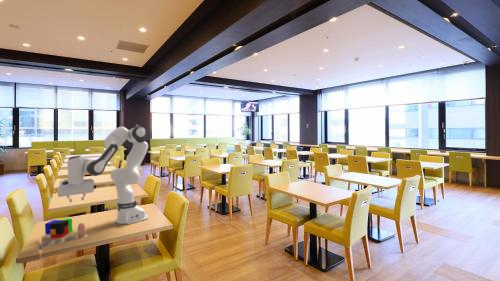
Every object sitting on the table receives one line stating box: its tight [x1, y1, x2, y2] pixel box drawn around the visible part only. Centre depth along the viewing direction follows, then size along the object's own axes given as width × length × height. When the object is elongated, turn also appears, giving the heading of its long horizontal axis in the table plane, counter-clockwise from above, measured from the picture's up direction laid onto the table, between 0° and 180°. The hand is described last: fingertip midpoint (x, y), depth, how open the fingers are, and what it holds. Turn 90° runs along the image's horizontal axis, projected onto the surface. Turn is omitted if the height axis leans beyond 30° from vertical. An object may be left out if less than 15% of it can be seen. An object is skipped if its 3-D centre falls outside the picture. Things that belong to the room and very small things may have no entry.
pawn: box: [77, 222, 86, 238], centre depth 167 cm, size 4×4×8 cm
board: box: [37, 233, 88, 251], centre depth 162 cm, size 25×8×1 cm, turn 128°
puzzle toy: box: [44, 217, 73, 239], centre depth 170 cm, size 10×10×10 cm
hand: (76, 201), depth 175 cm, fingers open, 5 cm apart
